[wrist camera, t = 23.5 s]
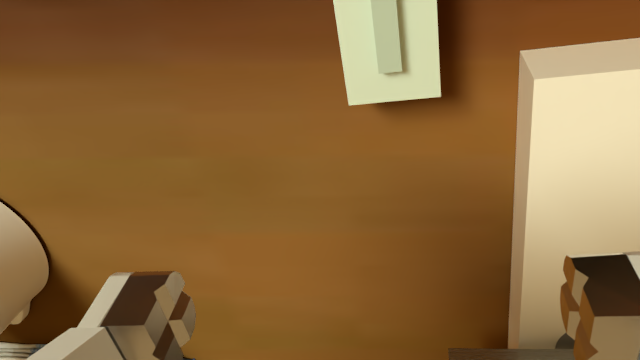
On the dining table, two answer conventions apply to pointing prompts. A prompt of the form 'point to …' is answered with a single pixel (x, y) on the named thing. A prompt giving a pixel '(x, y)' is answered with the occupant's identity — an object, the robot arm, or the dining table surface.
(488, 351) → the grey bar
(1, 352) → the dish towel
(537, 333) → the housing
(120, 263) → the dining table surface
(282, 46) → the dining table surface
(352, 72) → the cover
